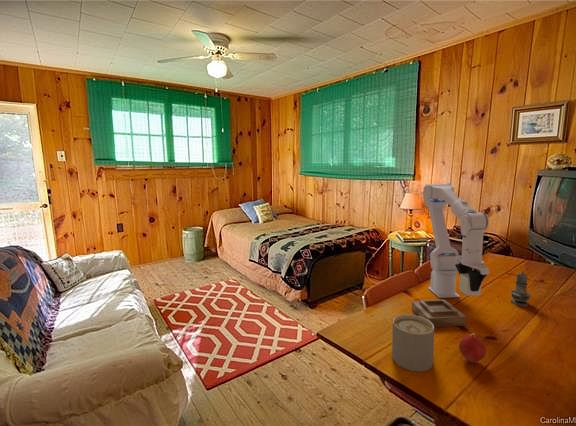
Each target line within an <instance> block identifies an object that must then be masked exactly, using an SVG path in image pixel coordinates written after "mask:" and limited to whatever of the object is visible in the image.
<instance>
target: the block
mask: <svg viewBox="0 0 576 426" xmlns="http://www.w3.org/2000/svg"><path fill="white" fill-rule="evenodd" d="M458 287H459V289H458V290H459V291H460V292H461V293H463V294H464V295H465V296H467V297H468V296H481V295H482V284H481V285H480V288H479V290H478V291H471V288H470V278H469V275H468V273H462V274H460V275H459V286H458Z"/></svg>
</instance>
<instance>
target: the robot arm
mask: <svg viewBox="0 0 576 426" xmlns="http://www.w3.org/2000/svg"><path fill="white" fill-rule="evenodd" d="M422 197H423V202H424V206H425V207H427V208H428V212H429V213H428V214H429V218H430V221H431V222H430V223H431V228H432V229H431V230H432V233H433V238H434V242H435V243H434V244H435V248H434V249H433V250H432V251H431V252H430V254H429V257H430V261H429V262H430V268H431V269H432V271H431V272H430V285H429V287H428V288H427V289H428V290H429V291H430V292H432V293H433V294H434V295H435V296H437V297H438V298H440V299H442V298H443V299H444V298H460V297H461V295H460V294H458V293H457V292H456V285H457V284H456V282H457V281H456V280H457V274H459V276H460V274H462V273H468V275H469V278H470V288H471V291H478V290H479V288H480V285H481V286H482V282H483V280H485V278H486V277H487V276H488V275H489V274H490V268H489V267H487V266H486V265H485V261H484V260H482V258H483V247H484V245H483V244H484V231H485V230H486V229H487V228H488V226H489V221H490V220H489V218H488V216H487V214H486V212H485V211H484V212H483V211H481V212H480V211H477V210H476V209H475V208H474V207H473V206H472V205H470V204H469V202H468V201H467V200H463V199H460V198H459V196H457V194H456V193H455V187H454V186H453V185H452V183H450V182H449V183H448V182H447V183H431V184H430V183H426V184H425V185H424V187H423V191H422ZM448 205H449V206H450V207H451V208H450V211H451V213H452V214H453V215H454V216H455V217H456V218H457V219H458V220H459V227H460V234H461V236H462V242H461V255H460V254H459V250H457V249H455V248H454V247H452V246H451V242H450V237H449V233H448V228H447V223H446V219H445V215H444V213H445V212H444V210H443V208H444V207H446V206H448Z"/></svg>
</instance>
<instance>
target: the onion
mask: <svg viewBox="0 0 576 426" xmlns="http://www.w3.org/2000/svg"><path fill="white" fill-rule="evenodd" d="M458 349H459V351H460V353H461V355H462V356H463V358H465V359H466V360H467V361H468V362H469V363H472V364H473V363H477V362H480V361H481V360H483V359H484V358H485V357H486V354H487V349H486V346H485V344H484V342H483V341H482V339H480V338H479V337H478V336H476V333H471V334H467V335H465V336H464V337H462V339H460V341H459V343H458Z"/></svg>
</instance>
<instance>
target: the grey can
mask: <svg viewBox="0 0 576 426" xmlns="http://www.w3.org/2000/svg"><path fill="white" fill-rule="evenodd" d="M434 342H435V327H434V325H433V324H432V322H430V321H429V320H427V319H425V318H423V317H420V316H417V315H416V314H408V313H406V314H399V315H396V316H395V317H394V318H393V320H392V341H391V344H392V345H391V348H392V349H391V357H392V359H393V361H394V363H395V364H396V365H398V366H399V367H401V368H403V369H406V370H409V371H412V372H426V371H428V370H430V369H432V368H433V366H434V351H435V350H434V349H435V347H434V345H435V343H434Z"/></svg>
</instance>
